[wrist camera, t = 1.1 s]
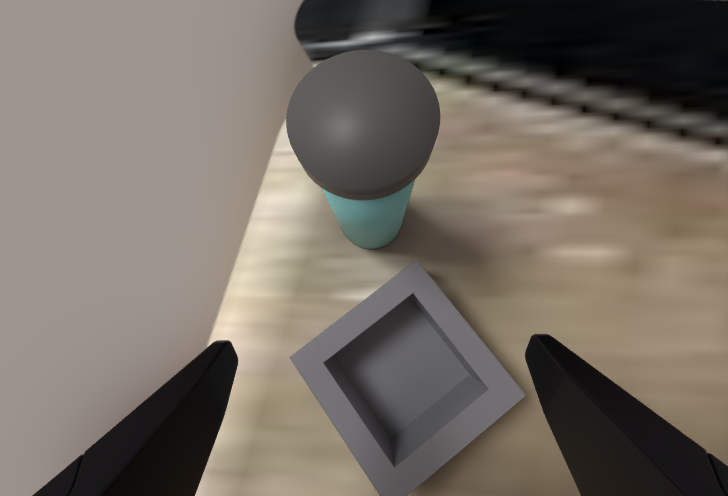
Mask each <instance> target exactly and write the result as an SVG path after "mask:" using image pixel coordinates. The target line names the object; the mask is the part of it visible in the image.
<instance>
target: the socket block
mask: <svg viewBox="0 0 728 496" xmlns="http://www.w3.org/2000/svg"><path fill="white" fill-rule="evenodd" d="M289 358H290V359H291V361H292V362H293V364H294V365H295V367H296V368H297V370H298V371H299V373H300V374H301V376H302V377H303V379H304V380H305V382H306V383H307V385H308V387H309V388H310V390H311V391H312V393H313V394H314V396H315V397H316V399H317V400H318V402H319V403H320V405H321V406H322V408H323V409H324V411H325V412H326V414H327V416H328V417H329V419H330V420H331V422H332V423H333V425H334V426H335V428H336V429H337V431H338V432H339V434H340V435H341V437H342V438H343V440H344V442H345V443H346V445H347V446H348V448H349V449H350V451H351V452H352V454H353V455H354V457H355V458H356V460H357V461H358V463H359V464H360V466H361V467H362V469H363V471H364V472H365V474H366V475H367V477H368V478H369V480H370V481H371V483H372V484H373V486H374V487H375V489H376V490H377V492H378V493H379V495H380V496H407V495H409V494H410V493H411V492H412V491H413V490H415V489H416V488H417V487H418V486H419V485H420V484H422V483H423V482H424V481H425V480H426V479H428V478H429V477H430V476H431V475H432V474H434V473H435V472H436V471H437V470H438V469H439V468H441V467H442V466H443V465H444V464H445V463H447V462H448V461H449V460H450V459H451V458H452V457H454V456H455V455H456V454H457V453H458V452H460V451H461V450H462V449H463V448H464V447H466V446H467V445H468V444H469V443H470V442H471V441H473V440H474V439H475V438H476V437H477V436H479V435H480V434H481V433H482V432H483V431H484V430H486V429H487V428H488V427H489V426H490V425H492V424H493V423H494V422H495V421H496V420H497V419H499V418H500V417H501V416H502V415H503V414H505V413H506V412H507V411H508V410H509V409H511V408H512V407H513V406H514V405H515V404H516V403H518V402H519V401H520V400H521V399H522V398H524V397H525V396H526V395H525V393H524V392H523V391H522V390H521V388H520V387H519V386H518V385H517V383H516V382H515V381H514V380H513V378H512V377H511V376H510V375H509V374H508V372H507V371H506V370H505V369H504V367H503V366H502V365H501V364H500V362H499V361H498V360H497V359H496V357H495V356H494V355H493V354H492V352H491V351H490V350H489V349H488V348H487V346H486V345H485V344H484V343H483V341H482V340H481V339H480V338H479V336H478V335H477V334H476V333H475V331H474V330H473V329H472V328H471V326H470V325H469V324H468V323H467V321H466V320H465V319H464V318H463V317H462V315H461V314H460V313H459V312H458V310H457V309H456V308H455V307H454V305H453V304H452V303H451V302H450V300H449V299H448V298H447V297H446V295H445V294H444V293H443V292H442V291H441V289H440V288H439V287H438V286H437V284H436V283H435V282H434V281H433V279H432V278H431V277H430V276H429V274H428V273H427V272H426V271H425V269H424V268H423V267H422V266H421V264H420V263H419V262H418V261H417V260H416V261H414V262H413V263H412V264H410V265H409V266H408V267H407V268H405V269H404V270H403V271H401V272H400V273H399V274H397V275H396V276H395V277H394V278H392V279H391V280H390V281H388V282H387V283H386V284H384V285H383V286H382V287H380V288H379V289H378V290H377V291H375V292H374V293H373V294H371V295H370V296H369V297H367V298H366V299H365V300H364V301H362V302H361V303H360V304H358V305H357V306H356V307H354V308H353V309H352V310H351V311H349V312H348V313H347V314H345V315H344V316H343V317H341V318H340V319H339V320H338V321H336V322H335V323H334V324H332V325H331V326H330V327H328V328H327V329H326V330H325V331H323V332H322V333H321V334H319V335H318V336H317V337H315V338H314V339H313V340H311V341H310V342H309V343H308V344H306V345H305V346H304V347H302V348H301V349H300V350H298V351H297V352H296V353H295V354H293V355H292V356H291V357H289Z"/></svg>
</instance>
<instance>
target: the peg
mask: <svg viewBox="0 0 728 496" xmlns="http://www.w3.org/2000/svg"><path fill="white" fill-rule="evenodd" d="M286 126H287V133H288V137H289V141H290V144H291V146H292V148H293V150H294V152H295V154H296V156H297V158H298V160H299V161H300V163H301V165H302V167H303V168H304V170H305V171H306V173H307V174H308V176H309V177H310V178H311V179H312V180H313V181H314V182H315V183H316V184H317V185H319V186H320V187H321V188H322V190H323V192H324V194H325V196H326V198H327V200H328V202H329V204H330V206H331V208H332V210H333V212H334V214H335V216H336V218H337V220H338V222H339V224H340V226H341V228H342V230H343V232H344V234H345V236H346V237H347V238H348V239H349V240H350V241H351V242H352V243H353V244H355V245H357V246H359V247H362V248H367V249H375V248H380V247H383V246H385V245H387V244H388V243H390V242H391V241H392V240H393V239H394V238H395V237H396V236H397V234H398V232H399V230H400V228H401V225H402V221H403V218H404V215H405V211H406V208H407V205H408V201H409V198H410V195H411V191H412V188H413V185H414V182H415V179H416V178H417V176H418V175H419V174H420V173H421V172H422V170H423V169H424V167H425V166H426V164H427V162H428V160H429V158H430V155H431V152H432V149H433V146H434V144H435V141H436V138H437V135H438V131H439V126H440V108H439V103H438V99H437V96H436V93H435V91H434V89H433V87H432V85H431V84H430V82H429V80H428V79H427V78H426V77H425V75H424V74H423V73H422V72H421V71H420V70H419V69H418V68H416V67H415V66H414V65H412V64H411V63H410V62H408V61H406V60H404V59H402V58H401V57H398V56H396V55H393V54H390V53H386V52H382V51H375V50H358V51H350V52H345V53H342V54H339V55H336V56H333V57H331V58H329V59H327V60H325V61H323V62H322V63H320V64H318V65H317V66H316V67H314V68H313V69H312V70H311V71H310V72H308V74H307V75H305V76H304V78H303V79H302V80H301V81H300V83H299V84H298V85H297V87H296V89H295V90H294V92H293V95H292V97H291V99H290V102H289V106H288V110H287V117H286Z"/></svg>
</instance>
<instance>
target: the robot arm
mask: <svg viewBox="0 0 728 496" xmlns="http://www.w3.org/2000/svg"><path fill="white" fill-rule="evenodd" d="M525 358H526V362H527V365H528V368H529V371H530V374H531V377H532V380H533V383H534V386H535V389H536V392H537V395H538V398H539V401H540V404H541V406H542V409H543V412H544V414H545V417H546V419H547V421H548V424H549V426H550V428H551V430H552V432H553V435H554V437H555V439H556V441H557V443H558V446H559V448H560V450H561V452H562V454H563V457H564V459H565V461H566V463H567V465H568V468H569V470H570V472H571V474H572V476H573V479H574V481H575V483H576V485H577V487H578V490H579V492H580V494H581V496H728V466H727V465H725V464H724V463H723V462H721V461H720V460H719V459H717V458H716V457H715V456H713V455H712V454H710V453H707V452H706V450H705V449H704V448H702V447H701V446H699V445H698V444H697V443H695V442H694V441H693V440H691V439H690V438H689V437H687V436H686V435H685V434H683V433H682V432H680V431H679V430H678V429H676V428H675V427H674V426H672V425H671V424H670V423H668V422H667V421H666V420H664V419H663V418H662V417H660V416H659V415H657V414H656V413H655V412H653V411H652V410H651V409H649V408H648V407H647V406H645V405H644V404H643V403H641V402H640V401H638V400H637V399H636V398H634V397H633V396H632V395H630V394H629V393H628V392H626V391H625V390H624V389H622V388H621V387H620V386H618V385H617V384H615V383H614V382H613V381H611V380H610V379H609V378H607V377H606V376H605V375H603V374H602V373H601V372H599V371H598V370H597V369H595V368H594V367H592V366H591V365H590V364H588V363H587V362H586V361H584V360H583V359H582V358H580V357H579V356H578V355H576V354H575V353H573V352H572V351H571V350H569V349H568V348H567V347H565V346H564V345H563V344H561V343H560V342H559V341H557V340H556V339H555V338H553V337H552V336H550V335H548V334H534V335H532V336H531V339H530V341H529V344H528V346H527V349H526V352H525ZM237 366H238V357H237V354H236V352H235V350H234V347H233V345H232V343H231V342H230V341H229V340H218V341H215V342H213V343H212V344H211V345H210V346H209V347H207V348H206V349H205V350H204V351H203V352H201V353H200V354H199V355H198V356H197V357H196V358H194V359H193V360H192V361H191V362H190V363H189V364H188V365H186V366H185V367H184V368H183V369H182V370H180V371H179V372H178V373H177V374H176V375H174V376H173V377H172V378H171V379H170V380H169V381H167V382H166V383H165V384H164V385H163V386H162V387H160V388H159V389H158V390H157V391H156V392H155V393H153V394H152V395H151V396H150V397H149V398H147V399H146V400H145V401H144V402H143V403H142V404H141V405H139V406H138V407H137V408H136V409H135V410H134V411H132V412H131V413H130V414H129V415H128V416H126V417H125V418H124V419H123V420H122V421H121V422H119V423H118V424H117V425H116V426H115V427H113V428H112V429H111V430H110V431H109V432H107V433H106V434H105V435H104V436H103V437H102V438H100V439H99V440H98V441H97V442H96V443H95V444H93V445H92V446H91V447H90V448H89V449H88V450H86V451H85V453H84V454H83V455H80V456H79V457H78V458H77V459H76V460H75V461H73V462H72V463H71V464H70V465H69V466H67V467H66V468H65V469H64V470H63V471H61V472H60V473H59V474H58V475H57V476H55V477H54V478H53V479H52V480H51V481H49V482H48V483H47V484H46V485H45V486H43V487H42V488H41V489H40V490H39V491H37V492H36V493H35V494H34V495H32V496H195V494H196V491H197V489H198V486H199V483H200V481H201V478H202V475H203V472H204V470H205V467H206V464H207V462H208V459H209V456H210V454H211V451H212V448H213V445H214V443H215V440H216V437H217V435H218V432H219V429H220V426H221V424H222V421H223V418H224V415H225V411H226V408H227V404H228V400H229V397H230V393H231V389H232V385H233V381H234V377H235V374H236V370H237Z"/></svg>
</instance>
